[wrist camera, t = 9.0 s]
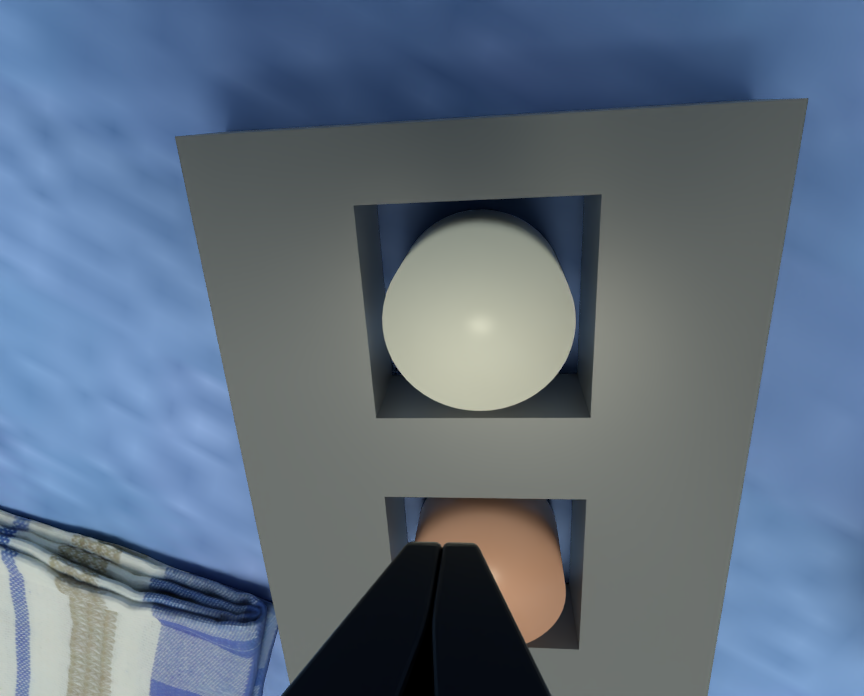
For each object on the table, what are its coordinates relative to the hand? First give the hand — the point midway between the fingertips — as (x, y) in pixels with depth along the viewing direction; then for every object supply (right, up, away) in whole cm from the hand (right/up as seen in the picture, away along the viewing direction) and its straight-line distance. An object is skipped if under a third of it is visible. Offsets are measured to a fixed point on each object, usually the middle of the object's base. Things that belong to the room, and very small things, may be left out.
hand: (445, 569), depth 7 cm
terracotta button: (+2, -4, +14) cm, 15 cm away
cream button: (+1, +4, +11) cm, 12 cm away
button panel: (+2, -4, +15) cm, 15 cm away
